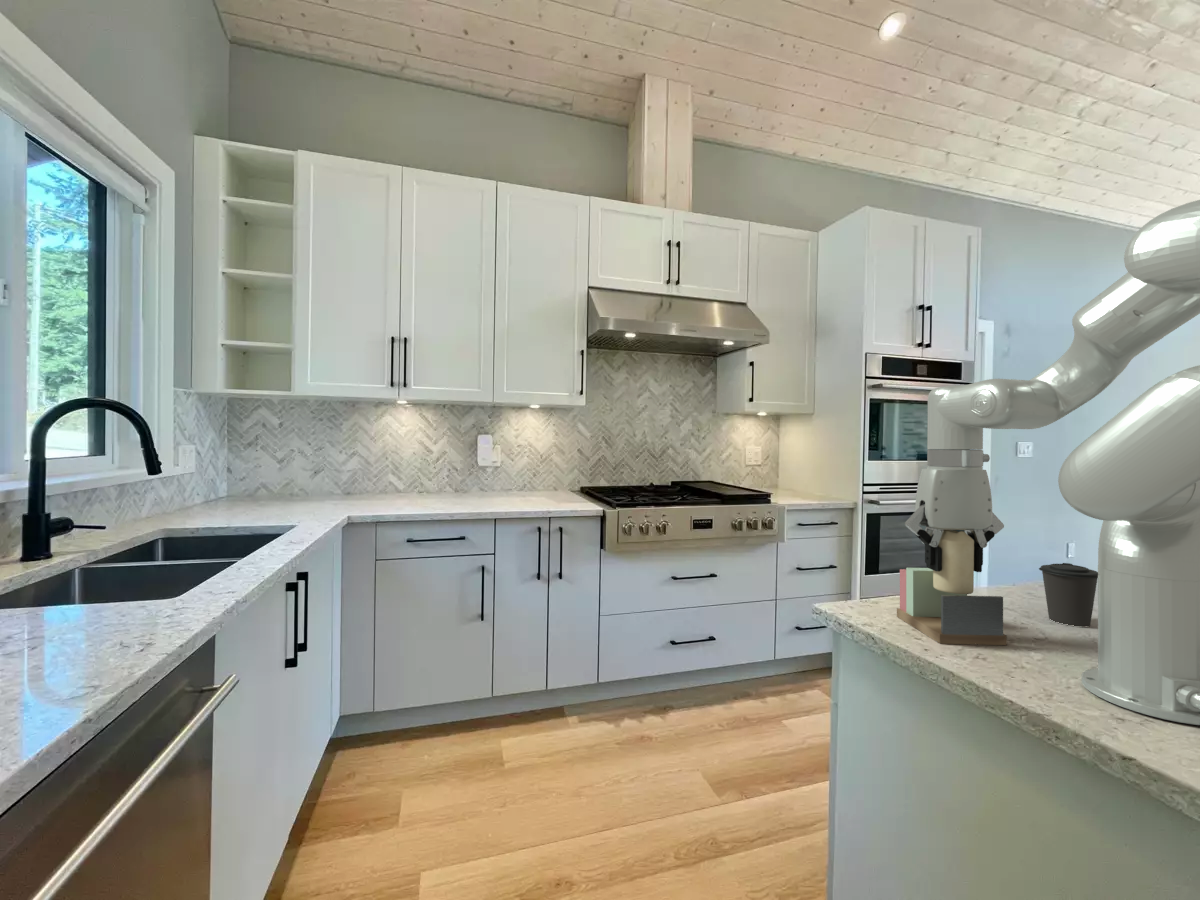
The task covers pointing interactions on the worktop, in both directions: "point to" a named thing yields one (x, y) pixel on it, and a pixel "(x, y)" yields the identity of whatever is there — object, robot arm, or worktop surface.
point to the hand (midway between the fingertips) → (953, 568)
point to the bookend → (972, 615)
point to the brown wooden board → (933, 630)
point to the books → (920, 593)
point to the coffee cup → (1069, 593)
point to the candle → (955, 563)
